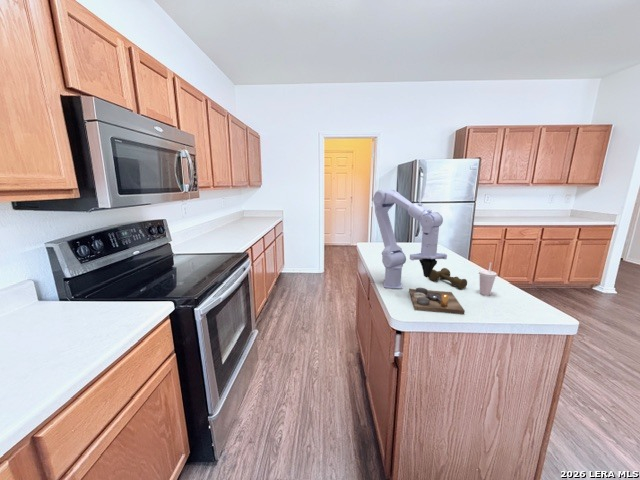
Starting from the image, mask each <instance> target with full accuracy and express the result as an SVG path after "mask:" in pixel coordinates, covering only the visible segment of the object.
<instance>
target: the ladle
mask: <svg viewBox="0 0 640 480" xmlns="http://www.w3.org/2000/svg"><path fill="white" fill-rule="evenodd" d="M428 298H429V299H431V300H435V301H439V302H440V303H441V306H443V307H447V306H448V298H449V295H447V294H442V296H441V295H440V294H438V293H428Z"/></svg>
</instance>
